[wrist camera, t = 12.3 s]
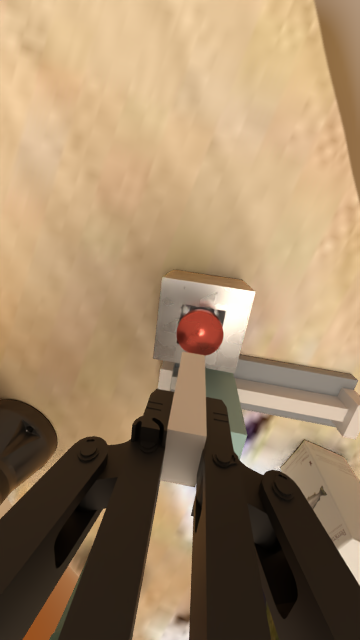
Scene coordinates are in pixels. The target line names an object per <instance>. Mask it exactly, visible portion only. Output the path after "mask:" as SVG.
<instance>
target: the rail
mask: <svg viewBox="0 0 360 640" xmlns="http://www.w3.org/2000/svg"><path fill="white" fill-rule="evenodd" d="M179 366H180V363H175V362H169V361H164V360H163V363H162V365H161V368H160V375H159V383H158V389H161V390H167V391H172V392H175V387H176V382H177V376H178V371H179ZM233 375H234V378H235V382H236V386H237V391H238V395H239V400H240V405H241V409H244V410H249V411H255V412H260V413H265V414H270V415H275V416H280V417H286V418H291V419H296V420H301V421H306V422H312V423H317V424H322V425H327V426H332V427H336V428H337V430H338V431H339V432H340V434H341V435H342V437H346V438H351V439H356V438H357V436H358V434H359V432H360V395H359V394H357V393H356V392H355V391H354V388H355V386H356V384H357V382H358V380H357V379H356V378H355V377H354V376H352V375H351V374H347V373H341V372H335V371H329V370H324V369H318V368H312V367H307V366H301V365H295V364H290V363H284V362H278V361H273V360H267V359H261V358H256V357H250V356H244V355H239V359H238V363H237V367H236V370H235V373H233Z"/></svg>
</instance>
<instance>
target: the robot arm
mask: <svg viewBox="0 0 360 640" xmlns="http://www.w3.org/2000/svg"><path fill="white" fill-rule="evenodd" d="M56 446H57V438H56V434H55V431H54V429H53V427H52V426H51V424H50V423H49V421H48V420H47V419H46V418H45V417H44V416H43V415H42V414H41V413H40V412H38V411H37V410H36V409H34V408H33V407H31V406H29V405H27V404H25V403H22V402H19V401H15V400H0V505H1V504H2V502H3V501H4V500H5V499H6V497H7V496H8V495H9V494H10V493H11V492H12V491H13V490H14V489H15V488H17V487H18V486H19V485H20V484H22V483H23V482H24V481H25V480H27V479H28V478H29V477H30V476H32V475H33V474H34V473H35V472H36V471H37V470H39V469H41V468H42V467H43V466H44V465H45V464H46V463H47V461H48V460H49V459H50V457H51V456H52V455H53V453H54V452H55V450H56ZM160 480H161V481H166V482H171V483H176V484H181V485H186V486H191V487H195V485H196V496H195V500H194V505H193V509H192V513H191V516H194V518H193V546H192V574H191V602H190V631H189V640H271V636H270V630H269V624H268V619H267V613H266V607H265V601H264V596H263V592H264V595H265V598H266V601H267V604H268V607H269V610H270V613H271V616H272V619H273V622H274V625H275V628H276V631H277V634H278V637H279V640H360V585H359V584H358V582H357V580H356V579H355V577H354V575H353V574H352V572H351V571H350V569H349V567H348V566H347V564H346V562H345V561H344V559H343V558H342V556H341V554H340V553H339V551H338V549H337V548H336V546H335V545H334V543H333V541H332V540H331V538H330V536H329V535H328V533H327V532H326V530H325V528H324V527H323V525H322V523H321V522H320V520H319V519H318V517H317V515H316V514H315V512H314V510H313V509H312V507H311V506H310V504H309V502H308V501H307V499H306V498H305V496H304V494H303V493H302V491H301V489H300V488H299V487H298V485H297V484H296V483H295V482H294V480H292V479H291V478H290V477H289V476H288V475H286V474H284V473H282V472H280V471H275V470H270V471H267V472H266V473H265V474H264V475H261V474H259V473H257V472H255V471H253V470H251V469H250V468H248V467H246V466H245V465H244V464H243V463H242V462H241V461H240V460H239V458H238V456H237V454H236V453H235V452H234V449H233V444H232V437H231V431H230V424H229V418H228V411H227V407H226V405H225V404H224V402H223V401H222V400H220V399H215V398H209V397H206V385H205V355H200V354H194V353H188V352H182V356H181V361H180V366H179V371H178V376H177V382H176V387H175V392H172V391H167V390H161V389H156V390H155V391H154V392H153V393H152V394H151V395H150V398H149V401H148V404H147V406H146V409H145V412H144V415H143V416H141V417H139V418H138V419H136V420H135V422H134V423H133V425H132V435H131V440H129V441H127V442H125V443H122V444H116V445H107V443H106V441H105V440H103V439H102V438H100V437H95V436H93V437H86V438H84V439H81V440H79V441H78V442H77V443H75V444H74V445H73V446H72V447H71V448H70V449H69V450H68V451H67V452H66V453H65V454H64V455H63V456H62V457H61V458H60V459H59V460H58V461H57V462H56V463H55V464H54V465H53V466H52V467H51V468H50V469H49V470H48V471H47V472H46V473H45V474H44V475H43V476H42V477H41V478H40V479H39V480H38V481H37V482H36V483H35V484H34V485H33V487H32V488H31V489H30V490H29V491H28V492H27V493H26V494H25V495H24V496H23V497H22V498H21V499H20V500H19V501H18V502H17V503H16V504H15V505H14V506H13V507H12V508H11V509H10V510H9V511H8V512H7V513H6V514H5V515H4V516H3V517H2V518H1V519H0V640H22V639H23V638H24V636H25V635H26V633H27V631H28V629H29V628H30V626H31V625H32V623H33V622H34V620H35V618H36V617H37V615H38V613H39V612H40V610H41V609H42V607H43V605H44V604H45V602H46V600H47V599H48V597H49V596H50V594H51V592H52V591H53V589H54V587H55V586H56V584H57V583H58V581H59V579H60V578H61V576H62V575H63V573H64V571H65V570H66V568H67V566H68V565H69V563H70V562H71V560H72V558H73V557H74V555H75V554H76V552H77V550H78V549H79V547H80V545H81V544H82V542H83V541H84V539H85V537H86V536H87V534H88V532H89V531H90V529H91V528H92V526H93V524H94V523H95V521H96V520H97V518H98V516H99V515H100V513H101V511H102V510H103V509H104V508H106V511H105V513H104V516H103V519H102V521H101V524H100V527H99V530H98V532H97V535H96V538H95V540H94V543H93V546H92V549H91V551H90V554H89V557H88V559H87V562H86V565H85V568H84V570H83V573H82V576H81V578H80V581H79V584H78V587H77V589H76V592H75V595H74V597H73V600H72V603H71V606H70V608H69V611H68V614H67V616H66V619H65V622H64V625H63V627H62V630H61V633H60V635H59V638H58V640H132V636H133V630H134V625H135V619H136V614H137V608H138V602H139V597H140V591H141V586H142V580H143V574H144V569H145V563H146V558H147V552H148V547H149V541H150V535H151V530H152V524H153V519H154V513H155V508H156V502H157V496H158V490H159V484H160ZM196 481H197V482H196ZM262 589H263V590H262Z"/></svg>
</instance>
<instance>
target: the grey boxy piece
mask: <svg viewBox="0 0 360 640" xmlns="http://www.w3.org/2000/svg"><path fill="white" fill-rule="evenodd" d="M254 296H255V291H254V290H253V289H252V288H251V287H250V286H249V285H247V284H246V283H245V282H244V281H243V280H239V279H233V278H226V277H220V276H213V275H207V274H200V273H193V272H187V271H180V270H172V271H171V272H169V273H168V274H166V275H165V276H163V277H162V282H161V291H160V301H159V310H158V319H157V328H156V337H155V347H154V356H153V359H158V360H164V361H169V362H175V363H180V361H181V356H182V352H186V351H184V350H183V349H182V348H181V346H180V345H179V343H178V340H177V335H176V333H177V328H178V325H179V322H180V320H181V319H182V317H183V316H184V315H185V314H186V313H188V312H189V309H190V307H191V305H193V306H199V307H205V308H212V309H214V313H215V315H216V316H217V317H218V318H219V319H220V321H221V323H222V327H223V333H224V337H223V341H222V344H221V345H220V347H219V348H218V349H217V350H216V351H215V352H214V353H212V354H210V355H206V356H205V368H208V369H213V370H219V371H224V372H230V373H235V370H236V367H237V363H238V359H239V355H240V351H241V347H242V343H243V339H244V335H245V331H246V327H247V323H248V319H249V315H250V312H251V308H252V304H253V300H254Z"/></svg>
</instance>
